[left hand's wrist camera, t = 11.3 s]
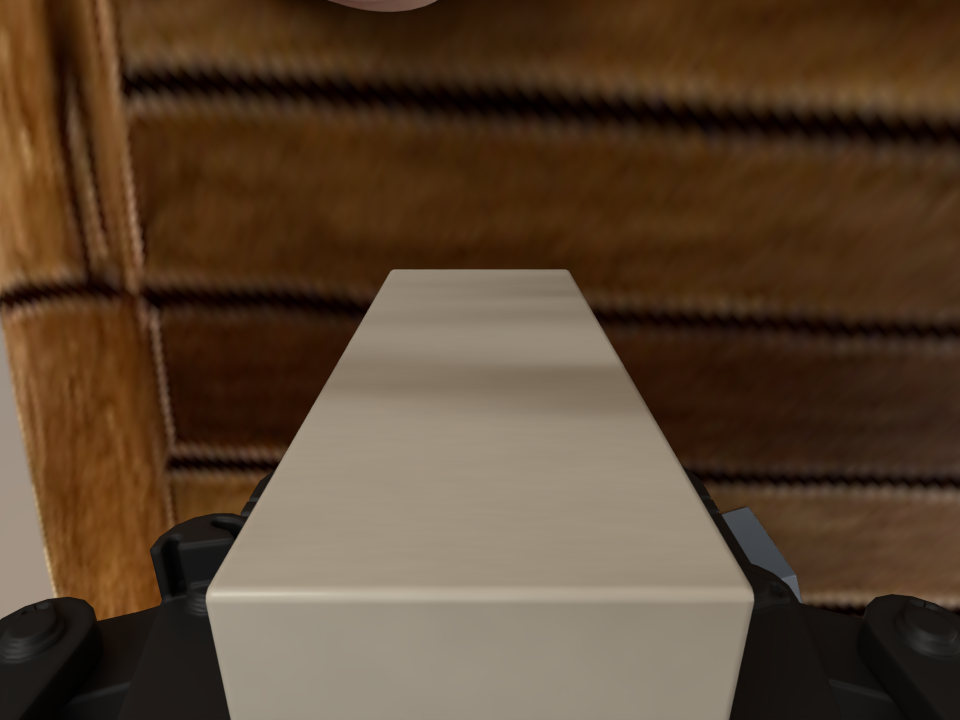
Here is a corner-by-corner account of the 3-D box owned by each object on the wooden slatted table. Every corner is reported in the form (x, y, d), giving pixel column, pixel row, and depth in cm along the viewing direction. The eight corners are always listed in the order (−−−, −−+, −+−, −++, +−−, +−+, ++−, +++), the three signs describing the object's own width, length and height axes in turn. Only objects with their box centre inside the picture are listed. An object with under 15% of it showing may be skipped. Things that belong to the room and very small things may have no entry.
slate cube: (748, 505, 31) (796, 575, 26) (766, 580, 32) (814, 658, 28) (650, 533, 31) (681, 606, 26) (673, 605, 33) (705, 685, 28)
